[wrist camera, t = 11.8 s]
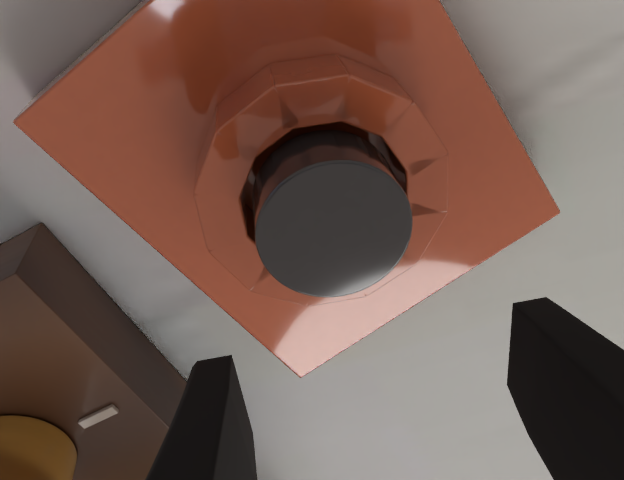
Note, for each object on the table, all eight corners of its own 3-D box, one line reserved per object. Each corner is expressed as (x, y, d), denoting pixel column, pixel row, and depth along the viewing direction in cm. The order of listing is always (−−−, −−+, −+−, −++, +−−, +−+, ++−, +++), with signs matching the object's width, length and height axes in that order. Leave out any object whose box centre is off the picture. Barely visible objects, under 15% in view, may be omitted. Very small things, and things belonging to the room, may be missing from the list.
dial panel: (-190, 345, 21) (-249, 413, 18) (42, 222, 20) (13, 276, 17) (39, 511, 27) (19, 580, 25) (227, 426, 26) (227, 489, 23)
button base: (31, 98, 18) (-15, 151, 14) (329, -165, 15) (359, -177, 12) (294, 343, 24) (306, 420, 20) (535, 186, 21) (593, 244, 18)
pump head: (221, 188, 16) (220, 227, 14) (341, 98, 15) (356, 127, 13) (308, 279, 18) (317, 322, 16) (419, 204, 17) (441, 241, 15)
